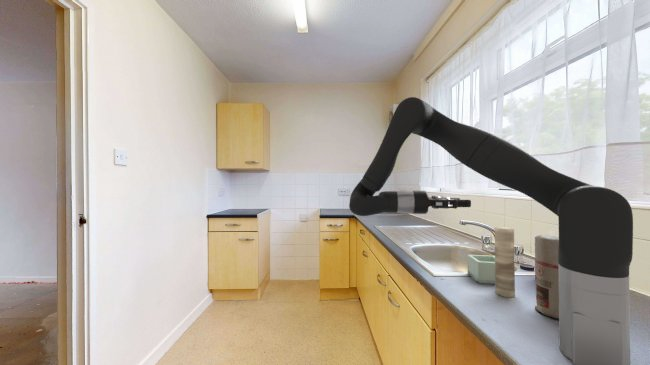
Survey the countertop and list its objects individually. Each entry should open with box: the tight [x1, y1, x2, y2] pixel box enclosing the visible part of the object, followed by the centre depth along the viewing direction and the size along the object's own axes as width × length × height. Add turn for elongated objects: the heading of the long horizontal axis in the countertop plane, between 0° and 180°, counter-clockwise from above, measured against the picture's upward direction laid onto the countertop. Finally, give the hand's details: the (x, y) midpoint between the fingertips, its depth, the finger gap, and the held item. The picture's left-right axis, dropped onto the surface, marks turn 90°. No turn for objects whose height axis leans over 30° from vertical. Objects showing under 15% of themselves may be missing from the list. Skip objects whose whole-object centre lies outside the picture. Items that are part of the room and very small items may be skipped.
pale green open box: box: [467, 254, 495, 285], centre depth 88 cm, size 9×9×7 cm
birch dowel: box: [494, 226, 516, 298], centre depth 75 cm, size 5×5×20 cm
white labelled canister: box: [534, 234, 559, 320], centre depth 64 cm, size 8×8×20 cm
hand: (464, 202), depth 77 cm, fingers open, 8 cm apart
